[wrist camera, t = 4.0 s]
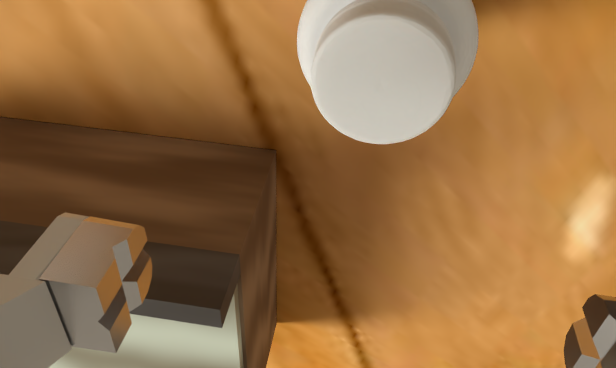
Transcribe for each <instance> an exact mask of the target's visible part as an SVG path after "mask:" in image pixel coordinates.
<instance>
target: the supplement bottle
mask: <svg viewBox="0 0 616 368" xmlns="http://www.w3.org/2000/svg"><path fill="white" fill-rule="evenodd" d="M477 48H478V23H477V17H476V12H475V8H474V4H473V1H472V0H307V1H306V3H305V6H304V8H303V11H302V14H301V17H300V21H299V26H298V32H297V50H298V57H299V62H300V65H301V68H302V71H303V73H304V76H305V78H306V80H307V82H308V83H309V85H310V87H311V89H312V94H313V97H314V100H315V103H316V105H317V107H318V109H319V111H320V112H321V114H322V115H323V117H324V118H325V119H326V120H327V121H328V122H329V123H330V124H331V125H332V126H333V127H334V128H335V129H337V130H338V131H340V132H341V133H343V134H344V135H346V136H348V137H351V138H353V139H355V140H358V141H362V142H366V143H372V144H391V143H398V142H403V141H406V140H409V139H412V138H414V137H416V136H418V135H420V134H422V133H424V132H425V131H427V130H428V129H429V128H430V127H432V126H433V125H434V124H435V123H436V122H437V121H438V120H439V119H440V118H441V117H442V115H443V114H444V113H445V111H446V110H447V108H448V106H449V104H450V102H451V100H452V97H453V96H454V95H455V94H456V93H457V92H458V91H459V89H460V88H461V87H462V85H463V84H464V82H465V81H466V79H467V77H468V75H469V73H470V71H471V69H472V67H473V64H474V61H475V57H476V53H477Z"/></svg>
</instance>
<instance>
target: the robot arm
mask: <svg viewBox="0 0 616 368" xmlns="http://www.w3.org/2000/svg"><path fill="white" fill-rule="evenodd" d="M146 242H147V236H146V232H145V228H144V227H142V226H140V225H136V224H130V223H124V222H119V221H113V220H108V219H102V218H97V217H91V216H90V217H88V216H83V215H77V214H71V213H66V212H65V213H63V214H61V215H59V216H57V217H56V218H55V220H54V221H53V222H52V223H51V224H50V226H49V227H48V228H47V229H46V230H45V232H44V233H43V234H42V235H41V236H40V238H39V239H38V240H37V241H36V242H35V244H34V245H33V246H32V247H31V248H30V250H29V251H28V252H27V253H26V254H25V256H24V257H23V258H22V259H21V261H20V262H19V263H18V264H17V265H16V267H15V268H14V269H13V270H12V271H11V273H10V274H9V275H5V274H0V368H48V367H50V366H51V365H52V364H54V363H55V362H56V361H57V360H59V359H60V358H61V357H63V356H64V355H65V354H67V353H68V352H69V351H70V350H72V347H78V348H85V349H91V350H98V351H105V352H112V353H117V351H118V349H119V347H120V345H121V343H122V341H123V339H124V337H125V336H126V334H127V332H128V330H129V328H130V326H131V324H132V321H131V317H130V313H129V312H130V311H132V310H133V309H135V308H136V307H138V306H140V305H141V304H142V303H143V301H144V299H145V297H146V295H147V293H148V290H149V286H150V282H151V278H152V261H151V257H150V255H149V254H148V253H147V252H146V251H145V250H144V249H143V247H144V245H145V243H146ZM582 308H583V311H584V314H585V318H583V319H581V320H579V321H577V322H574V323H573V324H572V326H571V327H570V329H569V331H568V333H567V335H566V340H565V346H564V358H565V365H566V368H616V297H612V296H605V295H598V294H595V295H593V296H591V297H590V298H588V300H587V301H586V303H585V304H584V306H583V307H582Z"/></svg>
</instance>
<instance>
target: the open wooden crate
mask: <svg viewBox="0 0 616 368" xmlns="http://www.w3.org/2000/svg"><path fill="white" fill-rule="evenodd" d="M65 212H66V213H71V214H77V215H83V216H88V217H90V216H91V217H97V218H102V219H108V220H113V221H119V222H124V223H130V224H136V225H140V226H142V227H144V228H145V232H146V236H147V242H146V243H145V245H144V247H143V249H144V250H145V251H146V252H147V253H148V254H149V255H150V257H151V261H152V278H151V282H150V286H149V290H148V293H147V295H146V297H145V299H144V301H143V303H142V304H141V305H140V306H138V307H136V308H135V309H133V310H132V311H130V312H129V313H130V317H131V321H132V324H131V326H130V328H129V330H128V332H127V334H126V336H125V337H124V339H123V341H122V343H121V345H120V347H119V349H118V351H117V353H112V352H105V351H98V350H91V349H85V348H78V347H72V350H70V351H69V352H68V353H67V354H65V355H64V356H63V357H61V358H60V359H59V360H57V361H56V362H55V363H54V364H52V365H51V366H50V367H48V368H266V364H267V360H268V356H269V352H270V348H271V344H272V340H273V335H274V331H275V327H276V150H269V149H260V148H252V147H244V146H236V145H227V144H219V143H211V142H203V141H194V140H186V139H178V138H170V137H162V136H153V135H145V134H137V133H129V132H120V131H112V130H104V129H96V128H87V127H79V126H71V125H63V124H54V123H46V122H38V121H30V120H21V119H13V118H5V117H0V274H5V275H9V274H10V273H11V271H12V270H13V269H14V268H15V267H16V265H17V264H18V263H19V262H20V261H21V259H22V258H23V257H24V256H25V254H26V253H27V252H28V251H29V250H30V248H31V247H32V246H33V245H34V244H35V242H36V241H37V240H38V239H39V238H40V236H41V235H42V234H43V233H44V232H45V230H46V229H47V228H48V227H49V226H50V224H51V223H52V222H53V221H54V220H55V218H56V217H57V216H59V215H61V214H63V213H65Z"/></svg>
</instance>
